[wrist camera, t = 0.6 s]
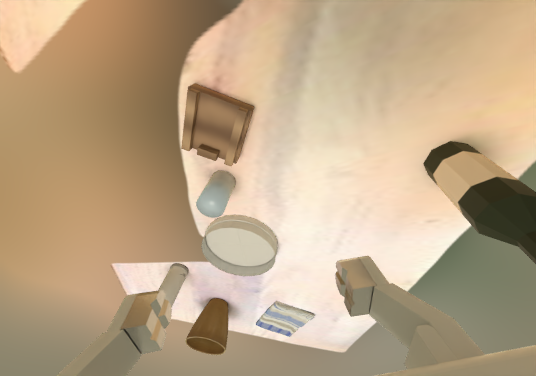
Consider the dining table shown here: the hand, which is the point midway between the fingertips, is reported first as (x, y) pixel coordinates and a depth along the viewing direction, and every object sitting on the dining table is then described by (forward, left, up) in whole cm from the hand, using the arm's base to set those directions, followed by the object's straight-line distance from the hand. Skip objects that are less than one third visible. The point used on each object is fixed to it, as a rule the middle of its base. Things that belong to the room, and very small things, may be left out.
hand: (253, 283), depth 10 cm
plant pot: (+87, +3, -38) cm, 95 cm away
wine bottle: (+1, +34, -38) cm, 51 cm away
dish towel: (+84, +31, -39) cm, 97 cm away
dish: (+45, +2, -38) cm, 59 cm away
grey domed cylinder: (+25, -8, -38) cm, 46 cm away
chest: (+11, -12, -38) cm, 41 cm away
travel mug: (+70, -15, -38) cm, 81 cm away
